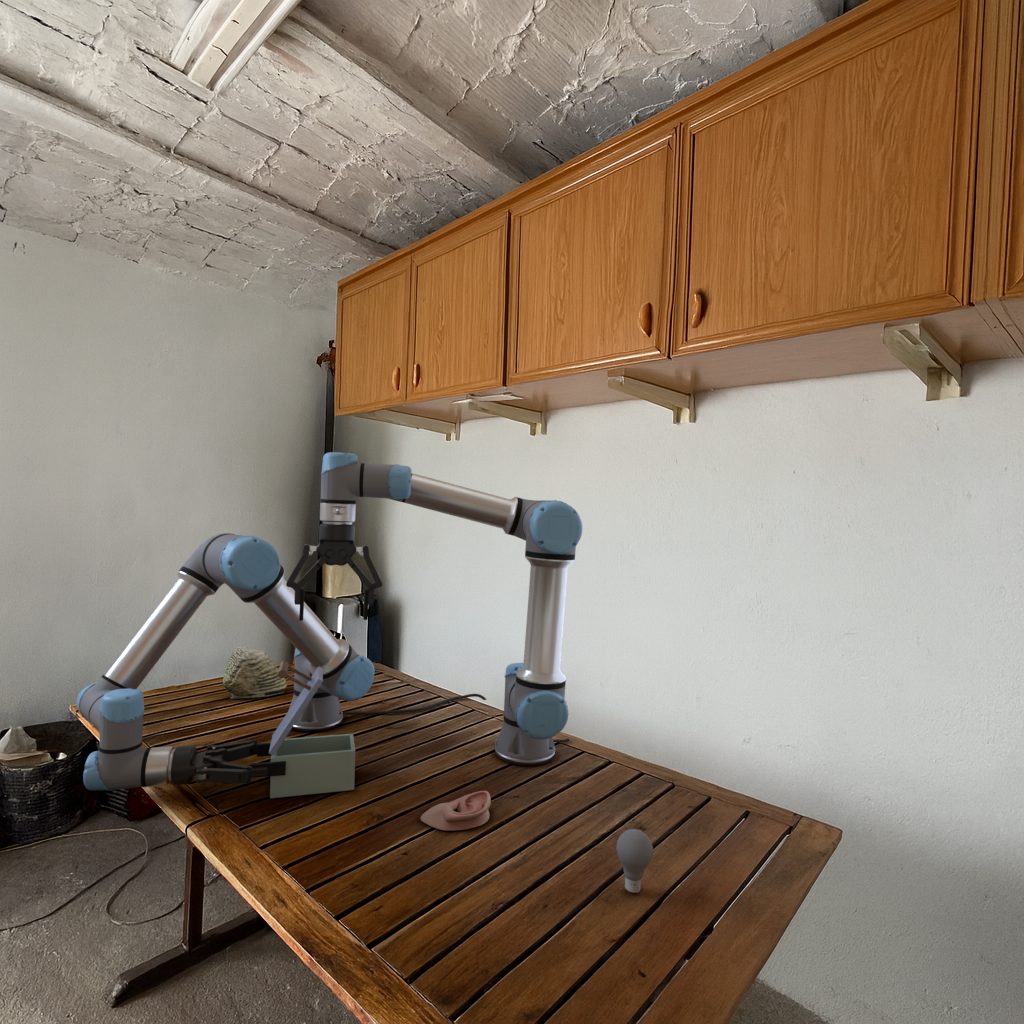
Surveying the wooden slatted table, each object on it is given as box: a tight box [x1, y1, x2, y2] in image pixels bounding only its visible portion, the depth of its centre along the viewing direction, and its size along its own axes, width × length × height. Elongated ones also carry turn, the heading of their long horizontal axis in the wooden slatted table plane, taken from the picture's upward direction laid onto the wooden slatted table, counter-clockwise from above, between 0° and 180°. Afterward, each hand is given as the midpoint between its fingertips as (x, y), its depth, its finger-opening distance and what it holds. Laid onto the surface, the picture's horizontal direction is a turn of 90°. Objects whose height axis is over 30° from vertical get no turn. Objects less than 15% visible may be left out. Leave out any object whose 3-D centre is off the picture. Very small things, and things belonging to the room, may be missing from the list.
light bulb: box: [615, 828, 654, 894], centre depth 106 cm, size 6×6×10 cm
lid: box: [269, 660, 323, 756], centre depth 137 cm, size 18×10×9 cm
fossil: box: [222, 646, 288, 699], centre depth 198 cm, size 9×18×15 cm, turn 132°
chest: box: [269, 733, 356, 799], centre depth 139 cm, size 17×10×9 cm, turn 107°
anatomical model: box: [419, 790, 492, 832], centre depth 127 cm, size 13×4×12 cm
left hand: (286, 757), depth 138 cm, fingers closed on chest, 10 cm apart
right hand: (333, 619), depth 140 cm, fingers open, 13 cm apart
